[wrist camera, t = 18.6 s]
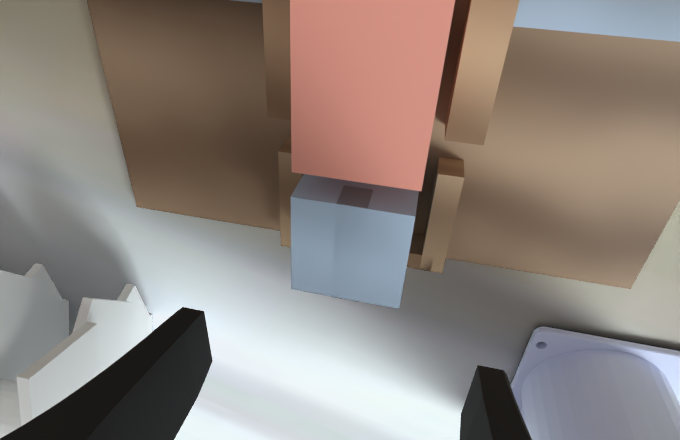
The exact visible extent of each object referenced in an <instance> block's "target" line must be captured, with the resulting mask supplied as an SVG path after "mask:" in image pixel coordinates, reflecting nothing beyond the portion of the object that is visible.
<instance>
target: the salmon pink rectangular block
mask: <svg viewBox="0 0 680 440" xmlns="http://www.w3.org/2000/svg"><path fill="white" fill-rule="evenodd" d="M454 4H455V0H290V61H291V161H292V172H294V173H301V174H308V175H314V176H321V177H328V178H334V179H341V180H348V181H355V182H361V183H368V184H375V185H382V186H388V187H395V188H402V189H408V190H415V191H422V185H423V179H424V174H425V168H426V162H427V157H428V151H429V146H430V140H431V134H432V129H433V123H434V117H435V112H436V106H437V100H438V95H439V89H440V83H441V78H442V72H443V67H444V61H445V55H446V50H447V44H448V38H449V33H450V27H451V21H452V16H453V10H454Z"/></svg>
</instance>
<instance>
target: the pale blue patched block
mask: <svg viewBox="0 0 680 440" xmlns="http://www.w3.org/2000/svg"><path fill="white" fill-rule="evenodd" d="M418 194H419V191H415V190H408V189H402V188H395V187H388V186H382V185H375V184H368V183H361V182H355V181H348V180H341V179H334V178H328V177H321V176H314V175H308V174H304V175H303V176H302V178H301V180H300V182H299V183H298V185H297V187H296V188H295V190H294V192H293V194H292V195H291V286H292V289H295V290H300V291H306V292H311V293H316V294H322V295H327V296H331V297H335V298H341V299H346V300H351V301H357V302H358V301H359V302H364V303H370V304H375V305H380V306H386V307H391V308H396V309H399V307H400V301H401V296H402V290H403V284H404V279H405V273H406V268H407V262H408V256H409V251H410V245H411V239H412V234H413V228H414V222H415V217H416V209H417V202H418Z"/></svg>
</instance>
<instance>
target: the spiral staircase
mask: <svg viewBox="0 0 680 440" xmlns="http://www.w3.org/2000/svg"><path fill="white" fill-rule="evenodd" d="M152 322H153V321H152V314H149V313H148V311H147V309H146V307H145V305H144V303H143V301H142V299H141V297H140V295H139V292H138V290H137V288H136V286H135V285H132V284H126V285H125V287H124V289H123V290H122V292H121V294H120V295H119V297H118V299H117V300H110V299H98V298H87V297H83V298H82V302H81V305H80V308H79V312H78V315H77V319H76V322H75V325H74V329H73V332H72V334H71V335H69V300H66V299H62V297H61V295H60V293H59V292H58V290H57V288H56V286H55V285H54V283H53V281H52V280H51V278H50V276H49V274H48V273H47V271H46V269H45V267H44V266H43V265H42V264H37V263H35V264H34V265H33V266H32V267H31V269H30V270H29V271H28V272H27V273H26V274H25V275H24V276H22V275H18V274H14V273H10V272H6V271H2V270H0V438H2V437H4V436H5V435H7V434H9V433H11V432H12V431H14V430H16V429H17V428H19V427H21V426H22V425H24V424H26V423H27V422H29V421H31V420H32V419H34V418H35V417H37V416H39V415H40V414H42V413H43V412H45V411H46V410H48V409H50V408H51V407H53V406H54V405H56V404H57V403H59V402H60V401H62V400H63V399H65V398H66V397H68V396H69V395H70V394H72V393H73V392H75V391H76V390H78V389H79V388H80V387H82V386H83V385H84V384H86V383H87V382H89V381H90V380H91V379H93V378H94V377H95V376H97V375H98V374H100V373H101V372H102V371H104V370H105V369H106V368H108V367H109V366H110V365H112V364H113V363H114V362H115V361H117V360H118V359H119V358H120V357H122V356H123V355H124V354H126V353H127V352H128V351H129V350H131V349H132V348H133V347H134V346H136V345H137V344H138V343H139V342H141V341H142V340H143V339H144V338H146V337H147V336H148V335H149V334H150V333H152Z"/></svg>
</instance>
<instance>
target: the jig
mask: <svg viewBox="0 0 680 440" xmlns="http://www.w3.org/2000/svg"><path fill="white" fill-rule="evenodd" d="M87 3H88V7H89V11H90V15H91V19H92V24H93V28H94V32H95V36H96V40H97V44H98V48H99V52H100V57H101V61H102V65H103V69H104V73H105V77H106V81H107V86H108V90H109V94H110V98H111V102H112V106H113V110H114V115H115V119H116V123H117V127H118V131H119V135H120V139H121V144H122V148H123V152H124V156H125V160H126V164H127V168H128V172H129V177H130V181H131V185H132V189H133V193H134V197H135V201H136V206H137V207H140V208H146V209H152V210H158V211H164V212H170V213H176V214H182V215H188V216H194V217H200V218H206V219H212V220H218V221H224V222H230V223H236V224H242V225H248V226H254V227H260V228H267V229H273V230H279V231H281V246H286V247H291V195H292V194H293V192H294V190H295V188H296V187H297V185H298V183H299V182H300V180H301V178H302V176H303V175H304V174H301V173H294V172H292V161H291V61H290V0H87ZM679 200H680V0H455V4H454V10H453V16H452V21H451V27H450V33H449V38H448V44H447V50H446V55H445V61H444V67H443V72H442V78H441V83H440V89H439V95H438V100H437V106H436V112H435V117H434V123H433V129H432V134H431V140H430V146H429V151H428V157H427V162H426V168H425V174H424V179H423V185H422V191H419V194H418V202H417V209H416V217H415V222H414V228H413V234H412V239H411V245H410V251H409V256H408V262H407V267H409V268H415V269H420V270H426V271H432V272H438V273H442V272H443V268H444V264H445V259H446V258H447V259H453V260H459V261H465V262H471V263H477V264H483V265H489V266H495V267H501V268H507V269H513V270H519V271H525V272H531V273H537V274H543V275H549V276H555V277H561V278H567V279H573V280H579V281H586V282H592V283H598V284H604V285H610V286H616V287H622V288H628V289H631V287H632V285H633V283H634V281H635V280H636V278H637V276H638V274H639V272H640V271H641V269H642V267H643V265H644V263H645V262H646V260H647V258H648V256H649V254H650V253H651V251H652V249H653V247H654V245H655V244H656V242H657V240H658V238H659V236H660V234H661V233H662V231H663V229H664V227H665V225H666V224H667V222H668V220H669V218H670V216H671V215H672V213H673V211H674V209H675V207H676V206H677V204H678V202H679Z"/></svg>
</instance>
